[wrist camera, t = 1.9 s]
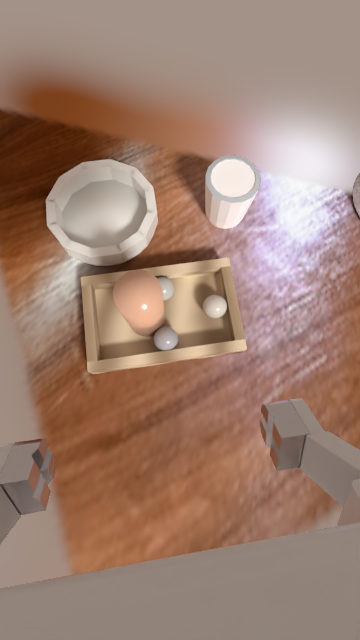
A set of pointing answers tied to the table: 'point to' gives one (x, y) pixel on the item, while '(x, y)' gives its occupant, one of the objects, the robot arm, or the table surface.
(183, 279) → the parts tray
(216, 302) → the pebble
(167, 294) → the pebble
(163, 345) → the pebble
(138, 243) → the bowl
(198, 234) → the table surface
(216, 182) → the shot glass
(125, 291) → the peach cylinder
